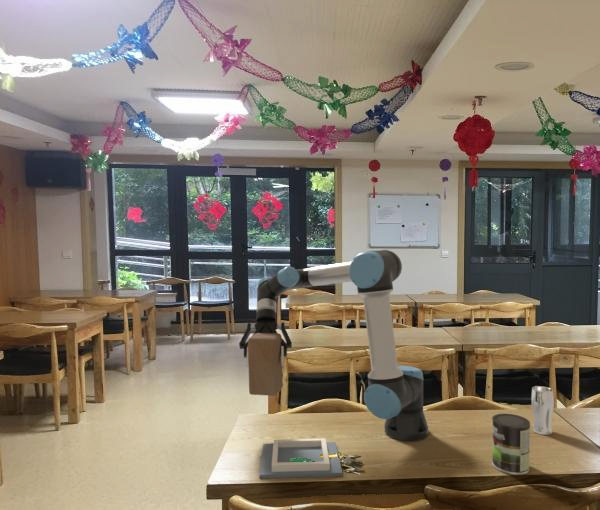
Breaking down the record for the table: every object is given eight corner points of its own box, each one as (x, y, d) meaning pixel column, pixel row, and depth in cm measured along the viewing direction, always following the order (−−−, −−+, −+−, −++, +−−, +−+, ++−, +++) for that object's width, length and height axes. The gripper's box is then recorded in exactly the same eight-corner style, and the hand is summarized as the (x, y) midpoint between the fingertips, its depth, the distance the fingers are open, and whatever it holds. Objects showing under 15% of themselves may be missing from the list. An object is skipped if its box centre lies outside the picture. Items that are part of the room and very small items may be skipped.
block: (276, 396, 158) (275, 339, 157) (248, 395, 160) (246, 338, 159) (283, 387, 168) (282, 332, 167) (256, 386, 170) (255, 332, 169)
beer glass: (532, 433, 160) (532, 391, 159) (530, 426, 166) (530, 385, 166) (554, 436, 157) (555, 393, 157) (552, 428, 164) (552, 387, 163)
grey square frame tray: (335, 444, 154) (335, 436, 154) (342, 476, 134) (342, 465, 134) (263, 446, 153) (263, 437, 153) (259, 478, 133) (259, 468, 133)
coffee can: (503, 476, 132) (503, 427, 132) (485, 459, 143) (485, 414, 142) (537, 474, 133) (537, 426, 133) (517, 457, 144) (517, 412, 143)
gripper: (297, 318, 179) (299, 369, 164) (236, 319, 178) (232, 370, 164) (297, 306, 173) (299, 358, 159) (234, 308, 173) (229, 359, 158)
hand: (265, 364), depth 161 cm, fingers closed on block, 11 cm apart
